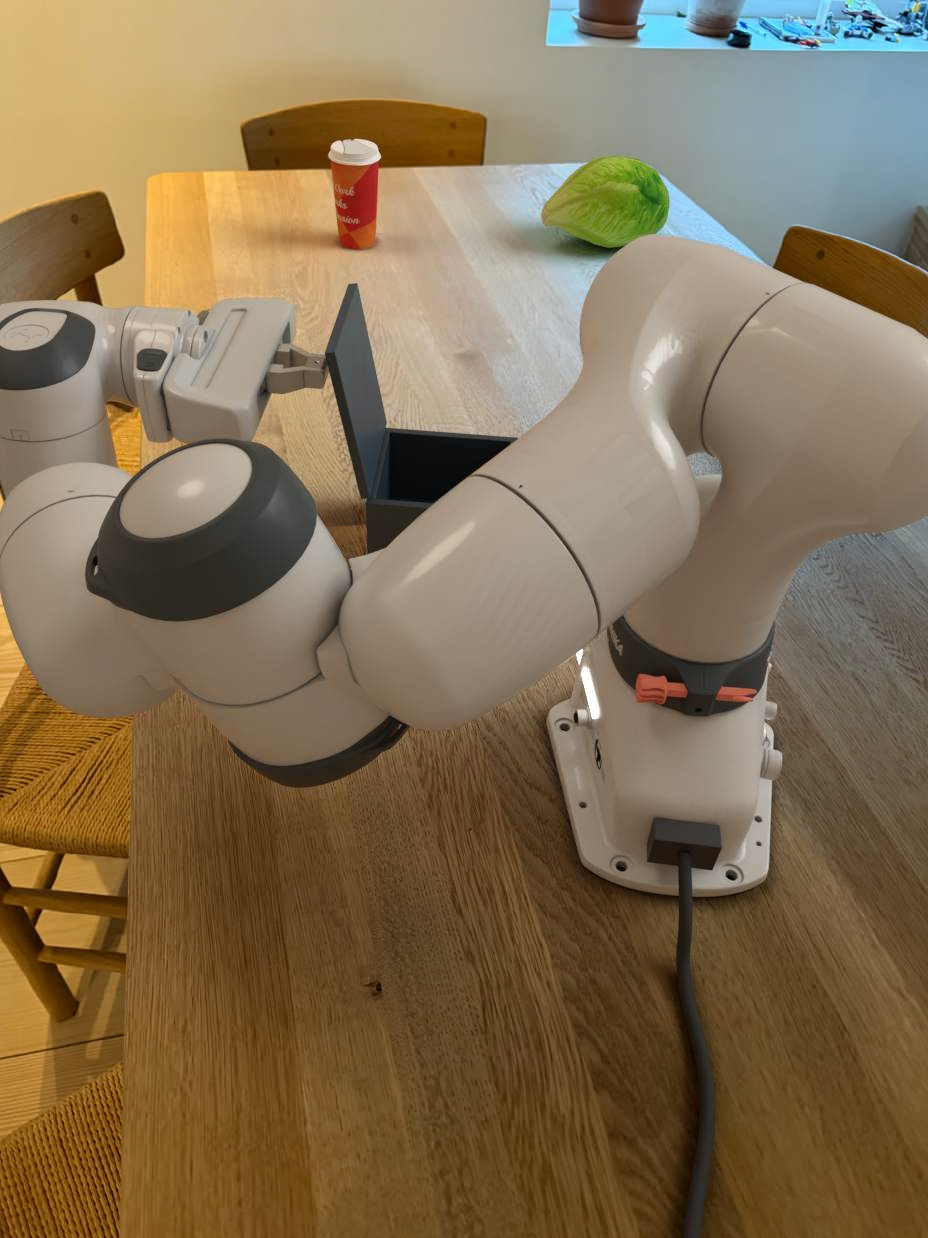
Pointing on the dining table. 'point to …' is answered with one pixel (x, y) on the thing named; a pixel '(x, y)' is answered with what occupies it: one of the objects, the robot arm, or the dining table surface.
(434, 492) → the chest
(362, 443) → the chest lid
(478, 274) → the dining table surface
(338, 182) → the paper cup
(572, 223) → the lettuce
